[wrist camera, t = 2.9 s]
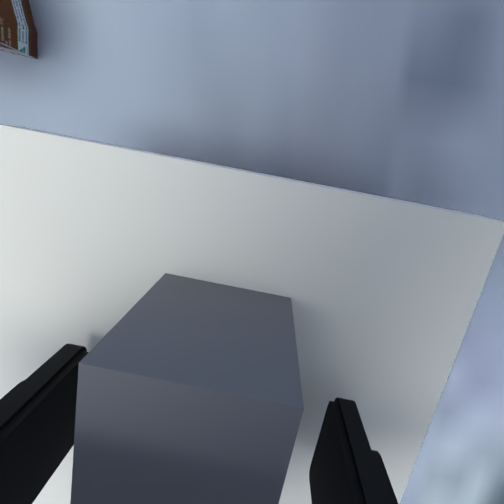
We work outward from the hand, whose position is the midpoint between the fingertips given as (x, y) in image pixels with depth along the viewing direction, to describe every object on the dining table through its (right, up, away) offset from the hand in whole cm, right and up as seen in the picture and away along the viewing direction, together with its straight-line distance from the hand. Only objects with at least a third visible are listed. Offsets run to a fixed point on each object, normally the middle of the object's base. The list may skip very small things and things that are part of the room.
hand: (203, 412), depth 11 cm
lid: (0, +1, +2) cm, 2 cm away
